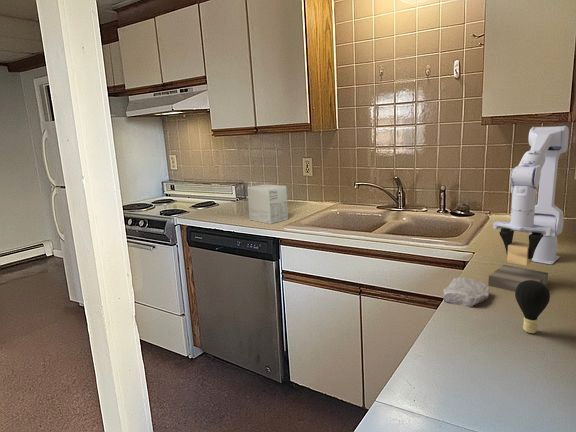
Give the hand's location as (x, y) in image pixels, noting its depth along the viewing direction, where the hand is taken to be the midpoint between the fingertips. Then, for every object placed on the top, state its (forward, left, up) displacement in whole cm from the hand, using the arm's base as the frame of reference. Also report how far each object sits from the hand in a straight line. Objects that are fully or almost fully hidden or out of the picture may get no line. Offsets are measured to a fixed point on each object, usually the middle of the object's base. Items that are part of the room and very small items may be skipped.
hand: (519, 256), depth 119 cm
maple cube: (0, 0, -2) cm, 2 cm away
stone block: (+18, -7, -9) cm, 21 cm away
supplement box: (-18, -127, -9) cm, 129 cm away
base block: (0, 0, -8) cm, 8 cm away
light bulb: (+28, +11, -9) cm, 31 cm away
